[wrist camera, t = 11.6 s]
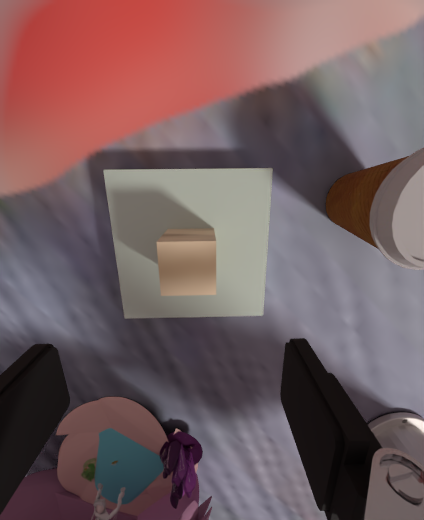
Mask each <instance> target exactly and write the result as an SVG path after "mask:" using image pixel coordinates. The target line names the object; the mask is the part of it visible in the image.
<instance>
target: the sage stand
mask: <svg viewBox="0 0 424 520" xmlns="http://www.w3.org/2000/svg"><path fill="white" fill-rule="evenodd" d="M103 172H104V179H105V186H106V193H107V200H108V207H109V214H110V221H111V228H112V234H113V241H114V248H115V255H116V262H117V269H118V276H119V283H120V290H121V297H122V304H123V311H124V318H125V319H129V318H179V317H229V316H263V308H264V293H265V278H266V263H267V248H268V233H269V218H270V203H271V188H272V172H273V168H240V169H131V170H103ZM202 228H214V231H215V237H216V295H184V296H161V291H160V279H159V267H158V255H157V243H156V242H157V241H158V239H159V238H160V237H161V236H162V235H163V234H164V233H165V232H166V230H167V229H202Z"/></svg>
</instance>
